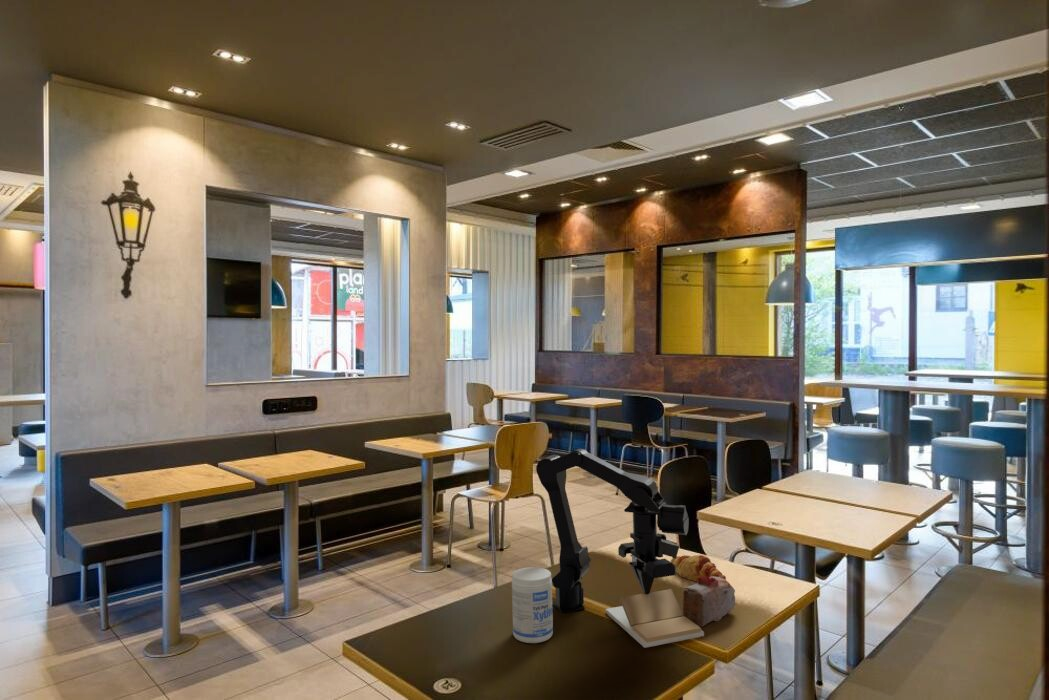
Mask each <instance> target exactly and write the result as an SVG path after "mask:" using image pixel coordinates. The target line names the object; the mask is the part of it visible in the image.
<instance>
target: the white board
mask: <svg viewBox="0 0 1049 700" xmlns="http://www.w3.org/2000/svg"><path fill="white" fill-rule="evenodd" d="M605 614H607V616H608V617H610V618H611V619H612V620H613V621H614V622H615V623H616V624H617V625H619V626H620V627H621V628H622V629H623V630H624V631H625V632H627V633H628V634H629V635H630V636H631V637H632V638H633V639H634V640H635V641H636V642H637V643H639V644H640V645H641V646H642V647H643V648H644V649H645V648H650V647H656V646H660V645H665V644H671V643H675V642H681V641H685V640H686V641H687V640H692V639H696V638H697V639H698V638H701V636H702V637H704V636H705V631H704V630H702V627H700V626H698V625H696V624H695V623H693V622H692V621H691V620H689V619H688V618H686V617H685V616H683V617H677V618H672V619H667V620H661V621H656V622H650V623H645V624H639V625H634V626H633V627H631V626H630V624H629V621H628V619H627V616H626V614H625V611H624V609H623V606H622V605H620V606H615V607H610V608H605Z"/></svg>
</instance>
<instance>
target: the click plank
mask: <svg viewBox="0 0 1049 700" xmlns="http://www.w3.org/2000/svg"><path fill="white" fill-rule="evenodd" d="M619 601H620V603H621V606H623V609H624V611H625V614H626V616H627V619H628V621H629V624H630V626H631V627H633V626H634V625H639V624H645V623H650V622H656V621H661V620H667V619H672V618H677V617H683V616H684V615H683V610H682V608H681V607H680V604H679V603H678V600H677V598H676V596H675V594H674V592H673V590H672V588H669V589H662V590H657V591H652V592H651V591H650V593H649V594H645V593H644V592H643V593H638V594H634V595H628V596H621V597H620V598H619Z"/></svg>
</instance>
